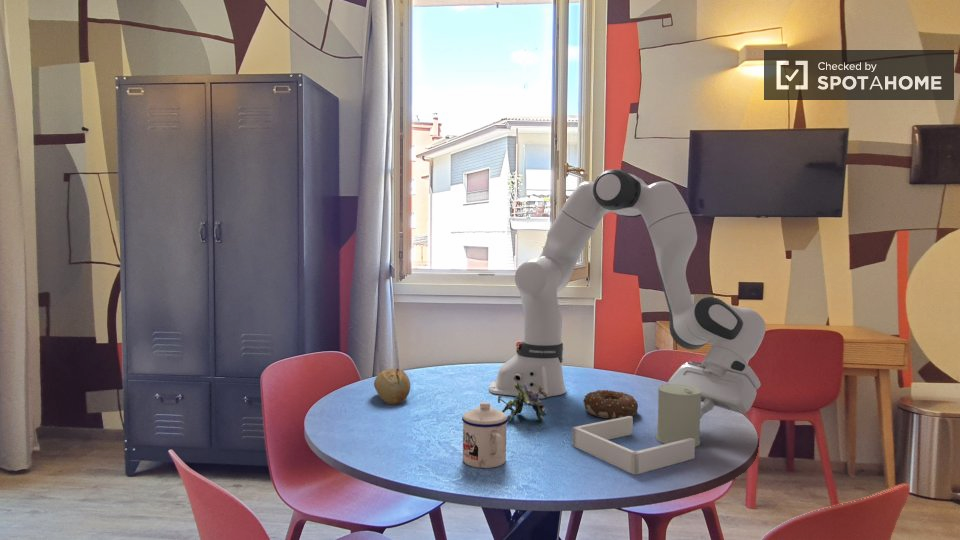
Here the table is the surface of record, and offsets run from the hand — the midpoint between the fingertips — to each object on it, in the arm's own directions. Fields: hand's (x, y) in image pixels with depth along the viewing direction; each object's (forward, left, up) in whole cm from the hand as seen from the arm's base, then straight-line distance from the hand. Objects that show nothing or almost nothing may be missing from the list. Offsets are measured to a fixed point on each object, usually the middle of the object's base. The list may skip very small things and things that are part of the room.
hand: (693, 415), depth 132 cm
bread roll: (-76, +17, -5) cm, 78 cm away
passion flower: (-39, +4, -5) cm, 39 cm away
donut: (-17, +15, -5) cm, 23 cm away
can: (-4, -3, -5) cm, 7 cm away
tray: (-14, -12, -5) cm, 19 cm away
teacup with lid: (-44, -24, -5) cm, 50 cm away
